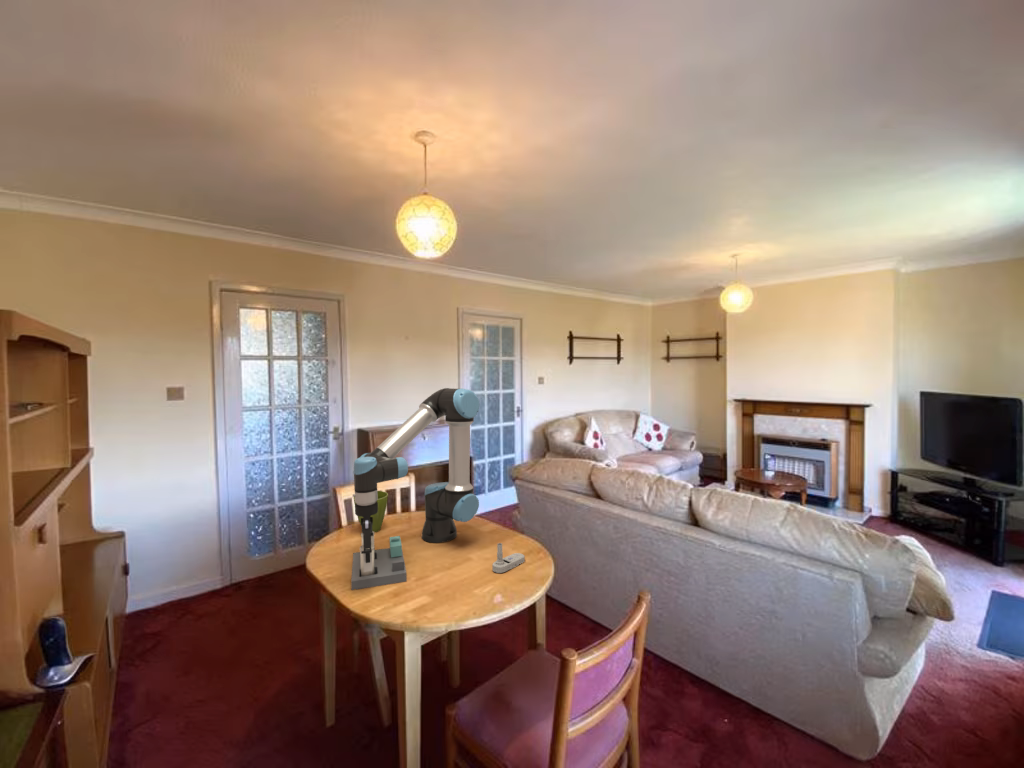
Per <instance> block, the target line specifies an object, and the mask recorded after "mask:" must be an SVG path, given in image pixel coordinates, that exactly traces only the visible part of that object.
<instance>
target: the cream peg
mask: <svg viewBox="0 0 1024 768" xmlns="http://www.w3.org/2000/svg"><path fill="white" fill-rule="evenodd" d="M371 549H372V571H368V572H364V557H363V554H361V551H364V545H362V544H361V545H360V546H359V552H360V560H361V577H362V576H368V575H375V573H374V550H375V544H374V545H373V544H371Z"/></svg>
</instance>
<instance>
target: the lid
mask: <svg viewBox="0 0 1024 768" xmlns="http://www.w3.org/2000/svg"><path fill="white" fill-rule="evenodd" d="M389 548H390V554H391V557H398V556H402V552H403V546H402V539H401V536H400V535H398V536H397V535H396V536H389Z"/></svg>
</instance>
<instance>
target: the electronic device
mask: <svg viewBox="0 0 1024 768" xmlns="http://www.w3.org/2000/svg"><path fill="white" fill-rule="evenodd" d="M496 549H497V552H496V557H497V558H496V560H495V561H494V562H493V563H492V572H494V573H496V574H497V573H498V574H503V573H505V572H508V571H509V570H512V569H514V568H516V567H518V566H520V565H522V564H524V563H525V562H526V561H525V560H526V559H525V555H524V554H523V553H520V552H515V553H511V554H510V555H507V556H505V557H504V555H503V543H501V542H497V547H496ZM523 562H524V563H523ZM521 563H522V564H521ZM519 564H520V565H519Z"/></svg>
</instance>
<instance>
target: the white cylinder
mask: <svg viewBox="0 0 1024 768" xmlns="http://www.w3.org/2000/svg"><path fill="white" fill-rule="evenodd" d="M372 532H373V536H372V544H373V545H374V546H375V532H374V531H372ZM360 537H361V545H364V544H363V533H362V532H361V533H360ZM375 550H376V549H374V559H375Z"/></svg>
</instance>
